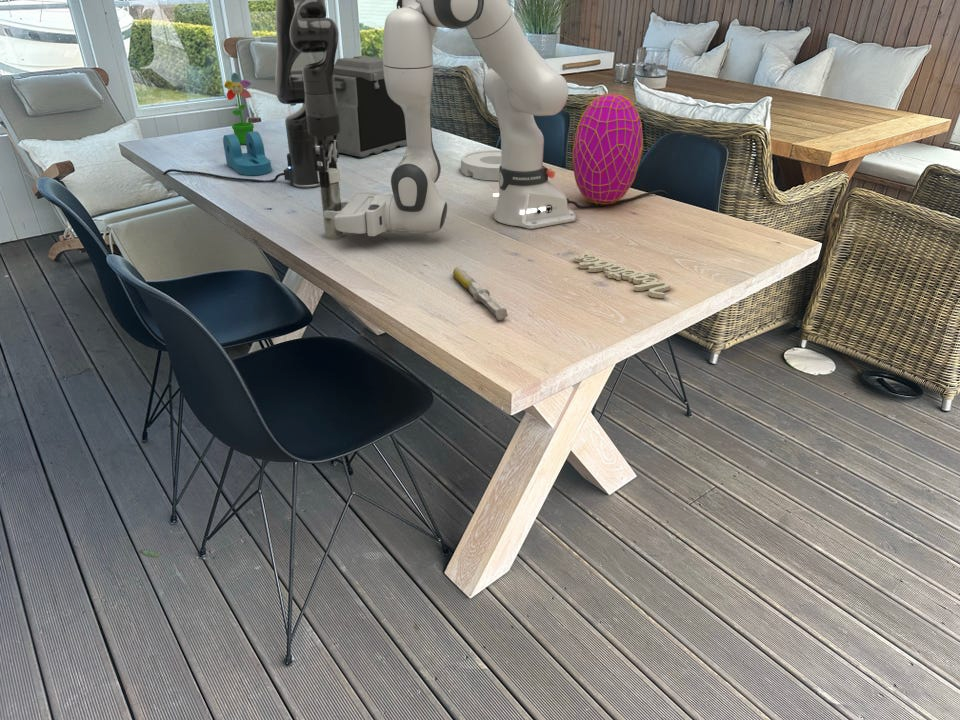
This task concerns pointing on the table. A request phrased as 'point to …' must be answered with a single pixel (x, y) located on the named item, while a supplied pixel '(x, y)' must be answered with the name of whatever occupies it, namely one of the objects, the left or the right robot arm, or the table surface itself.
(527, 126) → the right robot arm
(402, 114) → the electronic device
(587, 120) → the decorative egg
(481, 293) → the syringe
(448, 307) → the table surface
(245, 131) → the potted flower
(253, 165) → the camera mount
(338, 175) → the lid
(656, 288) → the decorative sign
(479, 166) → the ashtray
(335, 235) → the cylinder
